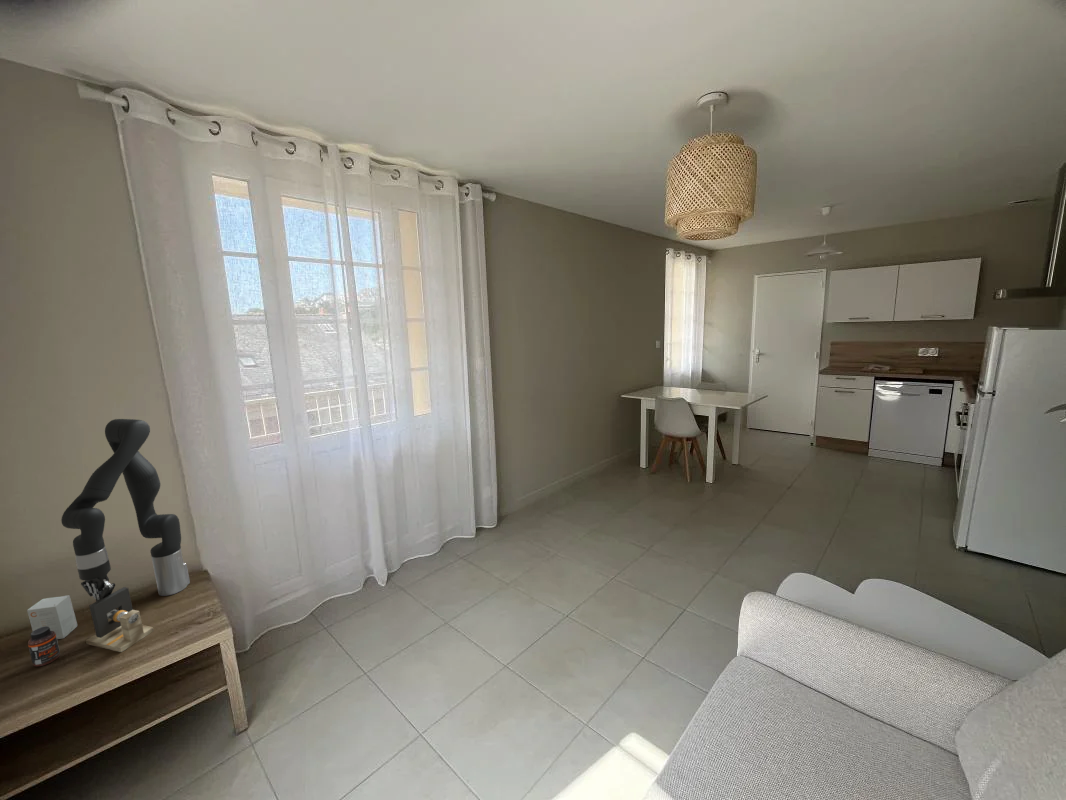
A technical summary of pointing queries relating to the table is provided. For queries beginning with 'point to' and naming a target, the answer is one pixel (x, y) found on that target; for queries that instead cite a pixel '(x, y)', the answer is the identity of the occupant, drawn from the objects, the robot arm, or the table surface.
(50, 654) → the supplement bottle
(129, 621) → the pipe stand
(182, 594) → the table surface
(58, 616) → the small box
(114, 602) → the dark grey flat block
